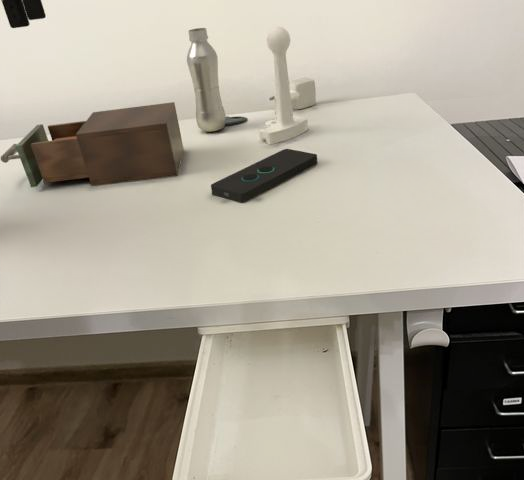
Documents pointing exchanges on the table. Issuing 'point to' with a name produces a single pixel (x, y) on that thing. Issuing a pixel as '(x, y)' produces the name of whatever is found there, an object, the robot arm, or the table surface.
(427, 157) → the table surface
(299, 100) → the power adapter
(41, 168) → the drawer
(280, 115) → the joystick
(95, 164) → the cabinet
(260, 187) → the smart home device
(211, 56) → the metal water bottle
